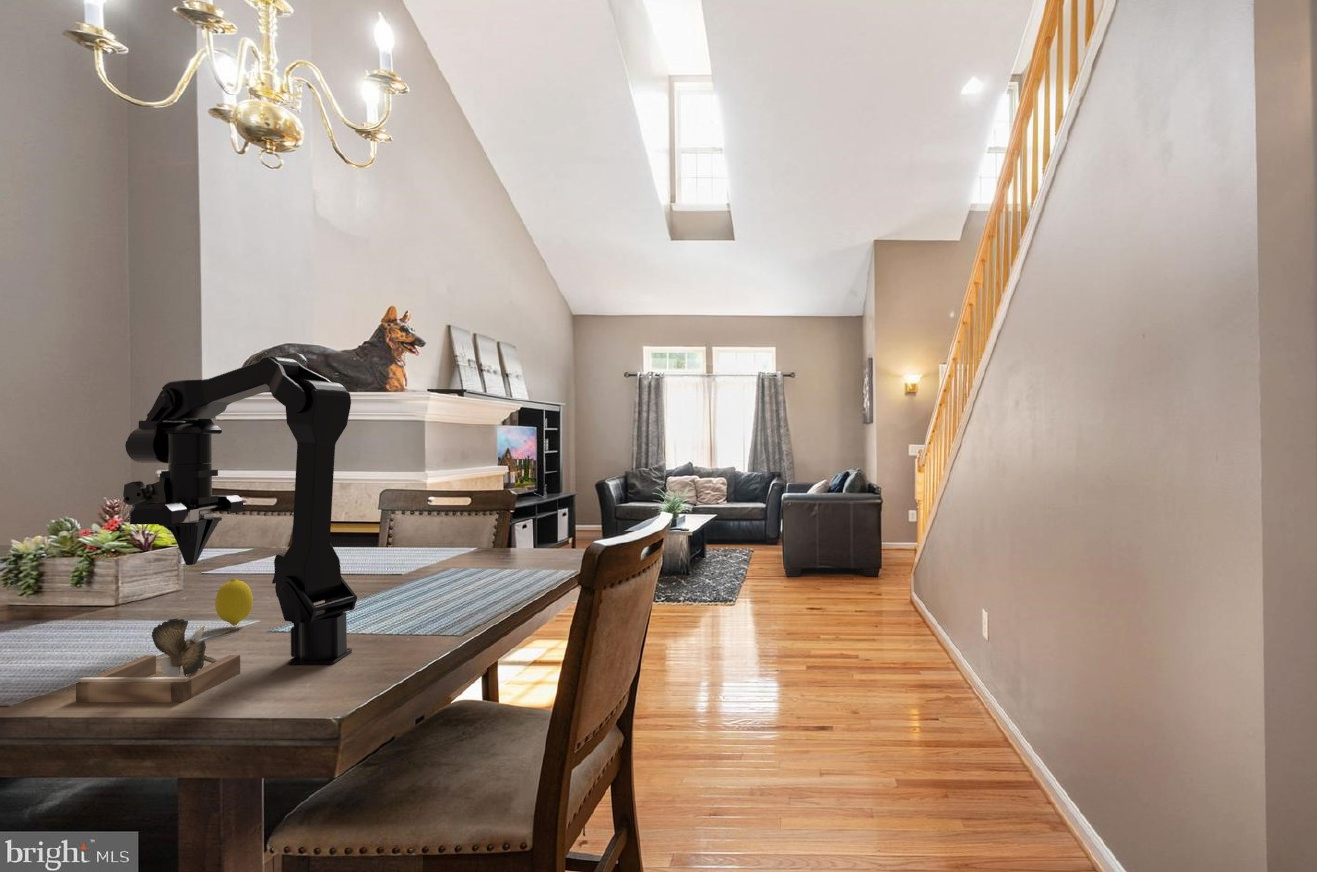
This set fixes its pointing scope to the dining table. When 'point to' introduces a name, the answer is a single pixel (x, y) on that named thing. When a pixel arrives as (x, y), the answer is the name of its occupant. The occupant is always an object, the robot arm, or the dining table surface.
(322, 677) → the dining table surface
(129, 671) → the wooden tray
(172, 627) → the eagle figurine
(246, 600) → the lemon
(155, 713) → the dining table surface
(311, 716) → the dining table surface
